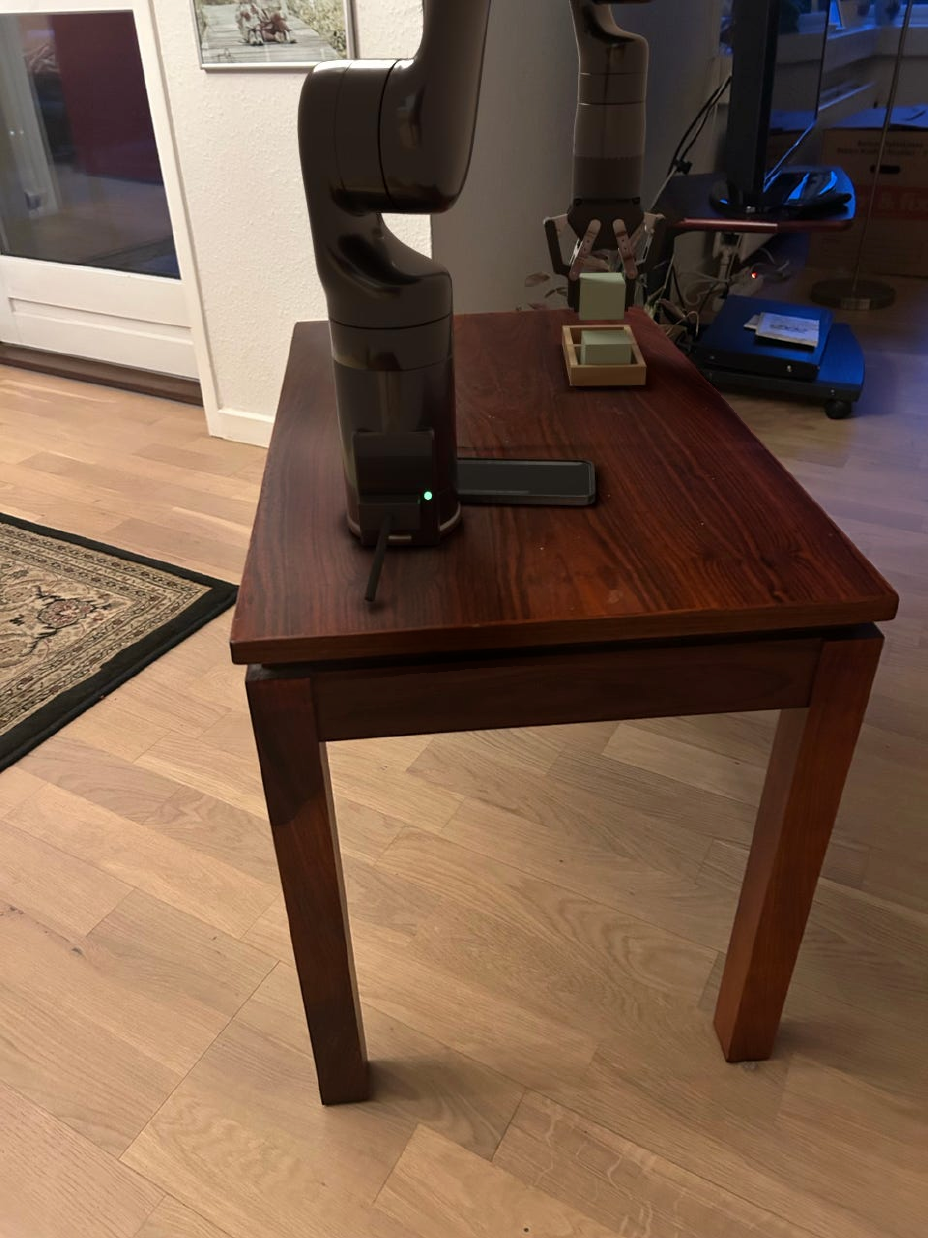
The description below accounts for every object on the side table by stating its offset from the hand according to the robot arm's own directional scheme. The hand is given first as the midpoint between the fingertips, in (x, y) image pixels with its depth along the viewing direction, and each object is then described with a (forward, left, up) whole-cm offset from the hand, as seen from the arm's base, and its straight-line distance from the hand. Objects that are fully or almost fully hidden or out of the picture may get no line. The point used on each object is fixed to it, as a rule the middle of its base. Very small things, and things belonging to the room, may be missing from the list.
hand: (600, 309), depth 110 cm
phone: (-35, +11, -6) cm, 37 cm away
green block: (0, 0, 0) cm, 0 cm away
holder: (-4, 0, -5) cm, 7 cm away
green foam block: (-7, 0, -5) cm, 9 cm away
